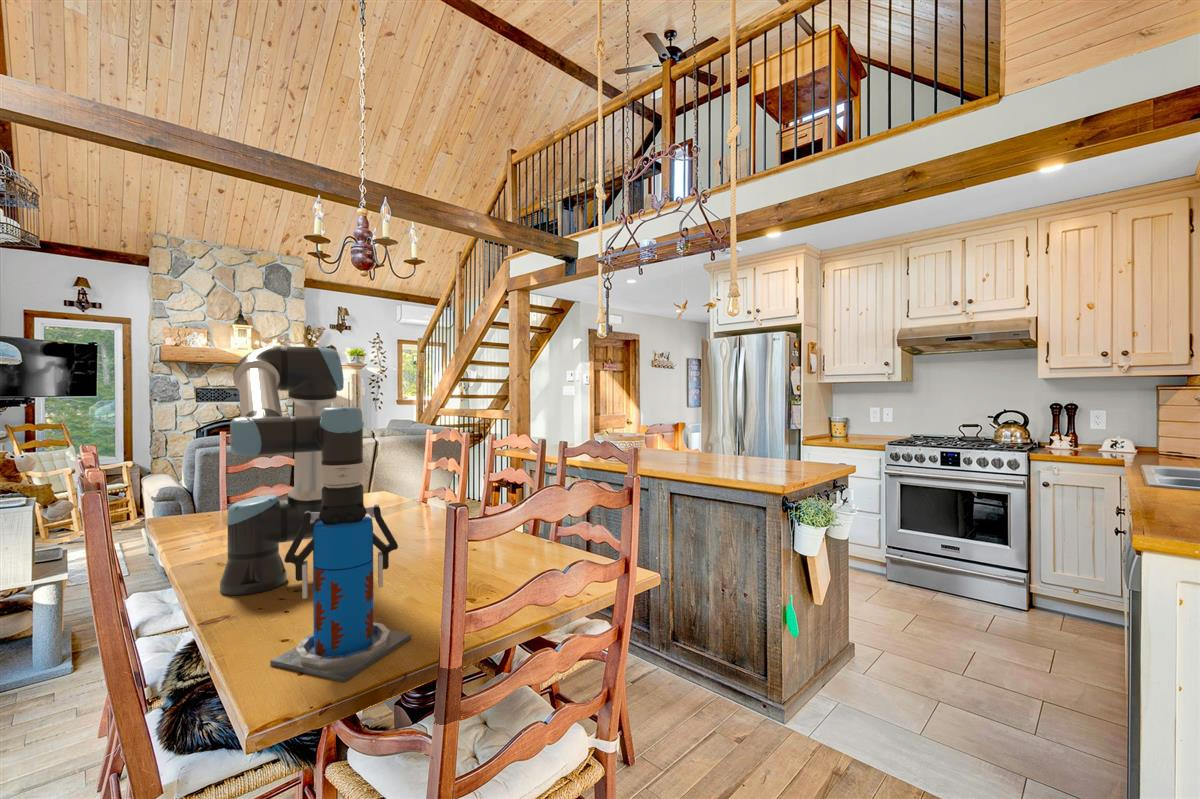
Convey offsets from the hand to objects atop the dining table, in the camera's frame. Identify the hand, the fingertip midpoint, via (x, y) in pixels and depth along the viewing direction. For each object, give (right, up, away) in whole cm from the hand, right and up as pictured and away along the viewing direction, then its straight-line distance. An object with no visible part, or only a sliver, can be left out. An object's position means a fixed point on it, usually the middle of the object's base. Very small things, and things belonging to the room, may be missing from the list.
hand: (343, 590), depth 108 cm
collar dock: (0, -12, 0) cm, 12 cm away
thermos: (0, -11, 0) cm, 11 cm away
